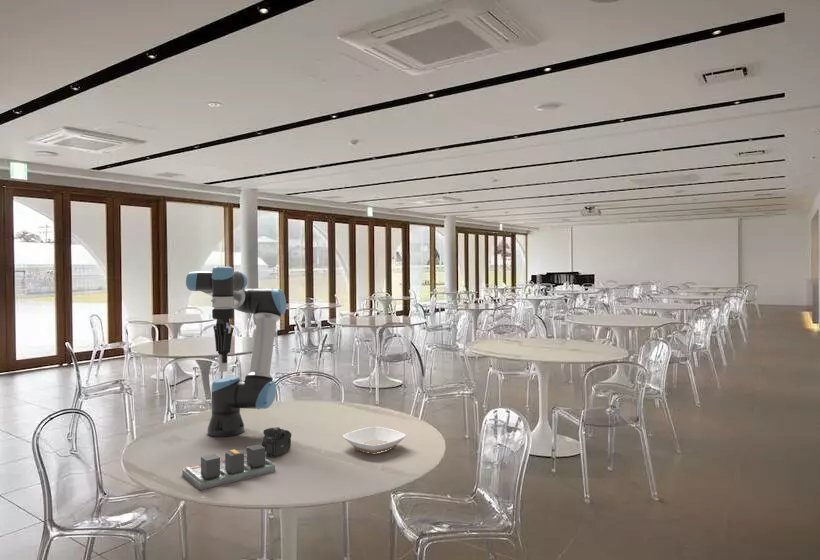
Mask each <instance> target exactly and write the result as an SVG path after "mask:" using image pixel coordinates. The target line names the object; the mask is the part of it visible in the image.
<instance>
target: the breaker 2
mask: <svg viewBox="0 0 820 560" xmlns="http://www.w3.org/2000/svg"><path fill="white" fill-rule="evenodd" d="M244 455H245V453H244V452H243V451H241V450H239V449H230V450H229V451H225V452H224V460H225V470H226V471H228V472H229V473H231V474H232V473H237V472H241V471H244Z"/></svg>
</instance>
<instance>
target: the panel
mask: <svg viewBox="0 0 820 560" xmlns="http://www.w3.org/2000/svg"><path fill="white" fill-rule="evenodd" d="M275 472H276V465H275V464H273V461H271V460H270V459H267V458H266V457H265V465H263V466H258V467H254V468H253V467H251V466H249V465H248V464H247V454H244V471H241V472H237V473H232V474H231V473H229V472H228V471H226V470H225V459H220V476H217V477H213V478H209V479H206V478H204V477H203V476H202V475H201V464H200V465H196V466H191V467H189V466H185V468H183V469H182V476H183V477H184V478H185V479H186V480H188V482H190V483H191V484H192V485H193V486H195V487H196V488H197V489H198V490H199V491H203V490H206V489H207V490H208V489H211V488H215V487H218V486H224V485H226V484H231V483H235V482H239V481H243V480H246V479H251V478H254V477H258V476H263V475H266V474H270V473H275Z"/></svg>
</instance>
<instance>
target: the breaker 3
mask: <svg viewBox="0 0 820 560" xmlns="http://www.w3.org/2000/svg"><path fill="white" fill-rule="evenodd" d="M246 455H247V464H248V465H249V466H251V467H253V468H254V467H258V466H263V465H265V458H266V451H265V447H263V446H262V444H259V443H258V444H255V445H249V446H248V445H247V446H246Z"/></svg>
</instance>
